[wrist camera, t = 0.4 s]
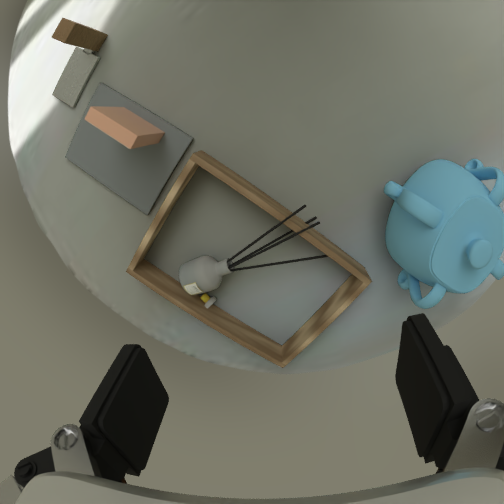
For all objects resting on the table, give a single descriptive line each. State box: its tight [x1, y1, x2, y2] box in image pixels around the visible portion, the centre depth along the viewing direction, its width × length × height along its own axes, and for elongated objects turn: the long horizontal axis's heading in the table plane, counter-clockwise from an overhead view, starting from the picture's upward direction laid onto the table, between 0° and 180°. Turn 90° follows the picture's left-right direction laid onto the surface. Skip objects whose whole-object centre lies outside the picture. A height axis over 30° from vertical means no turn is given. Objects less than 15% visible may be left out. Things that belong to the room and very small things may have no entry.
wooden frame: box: [126, 150, 372, 368], centre depth 40 cm, size 19×27×4 cm
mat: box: [65, 83, 194, 215], centre depth 37 cm, size 12×16×1 cm
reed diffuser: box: [179, 205, 329, 309], centre depth 40 cm, size 10×7×20 cm
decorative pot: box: [384, 159, 504, 309], centre depth 31 cm, size 16×16×14 cm
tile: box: [85, 106, 165, 149], centre depth 31 cm, size 2×7×8 cm, turn 56°
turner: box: [52, 18, 108, 107], centre depth 29 cm, size 11×5×8 cm, turn 145°
